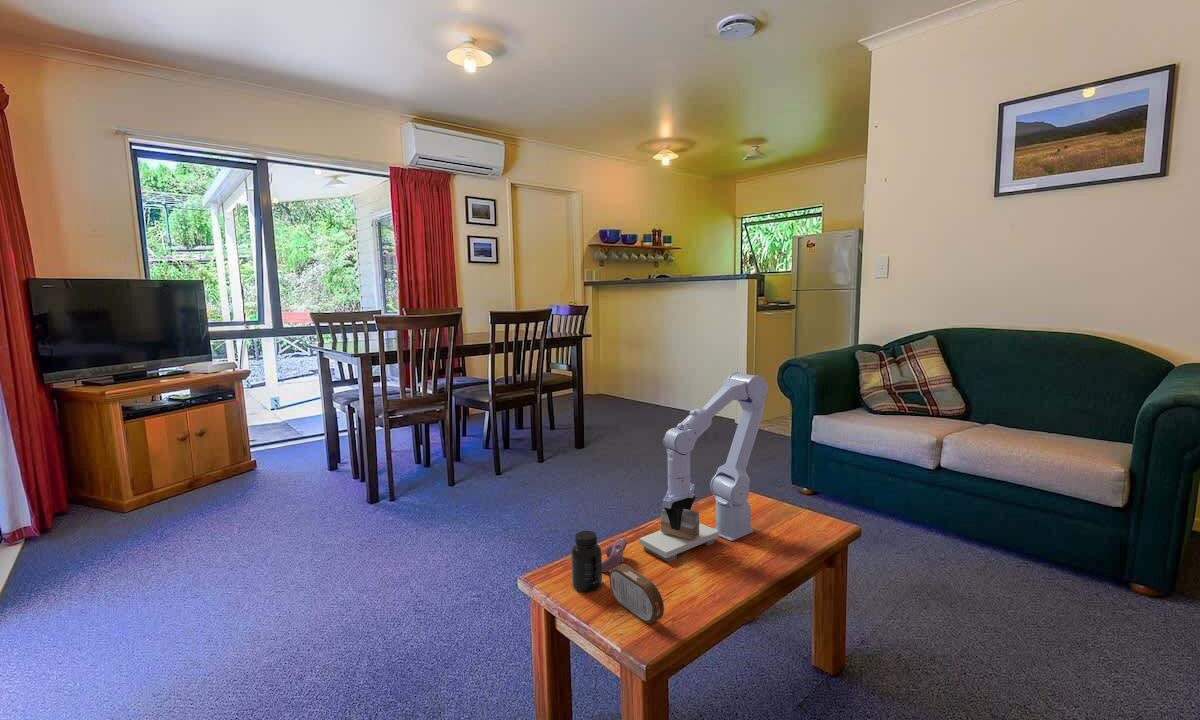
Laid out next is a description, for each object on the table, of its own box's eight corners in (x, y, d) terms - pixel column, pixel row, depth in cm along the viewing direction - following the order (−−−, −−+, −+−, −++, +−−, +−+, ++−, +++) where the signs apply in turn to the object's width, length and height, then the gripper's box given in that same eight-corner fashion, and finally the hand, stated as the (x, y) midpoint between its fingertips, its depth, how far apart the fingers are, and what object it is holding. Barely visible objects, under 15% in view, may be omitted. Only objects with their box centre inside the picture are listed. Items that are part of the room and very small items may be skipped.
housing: (668, 526, 140) (667, 505, 139) (699, 534, 135) (699, 512, 134) (661, 532, 137) (660, 510, 136) (692, 540, 132) (692, 517, 131)
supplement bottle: (567, 582, 119) (565, 532, 118) (593, 574, 123) (591, 525, 121) (580, 597, 113) (579, 544, 112) (608, 588, 117) (606, 536, 115)
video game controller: (613, 580, 123) (626, 556, 122) (596, 571, 123) (609, 546, 122) (620, 560, 133) (632, 537, 131) (604, 551, 133) (616, 528, 132)
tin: (665, 627, 102) (664, 586, 101) (653, 633, 100) (652, 591, 100) (618, 593, 114) (617, 557, 114) (607, 598, 113) (606, 561, 112)
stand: (691, 529, 146) (691, 519, 146) (718, 542, 138) (718, 531, 138) (639, 549, 135) (639, 538, 135) (666, 564, 127) (665, 552, 126)
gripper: (680, 486, 126) (681, 540, 128) (704, 469, 138) (705, 519, 139) (654, 481, 130) (655, 533, 132) (680, 465, 142) (681, 513, 143)
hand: (679, 525), depth 136 cm, fingers open, 4 cm apart
